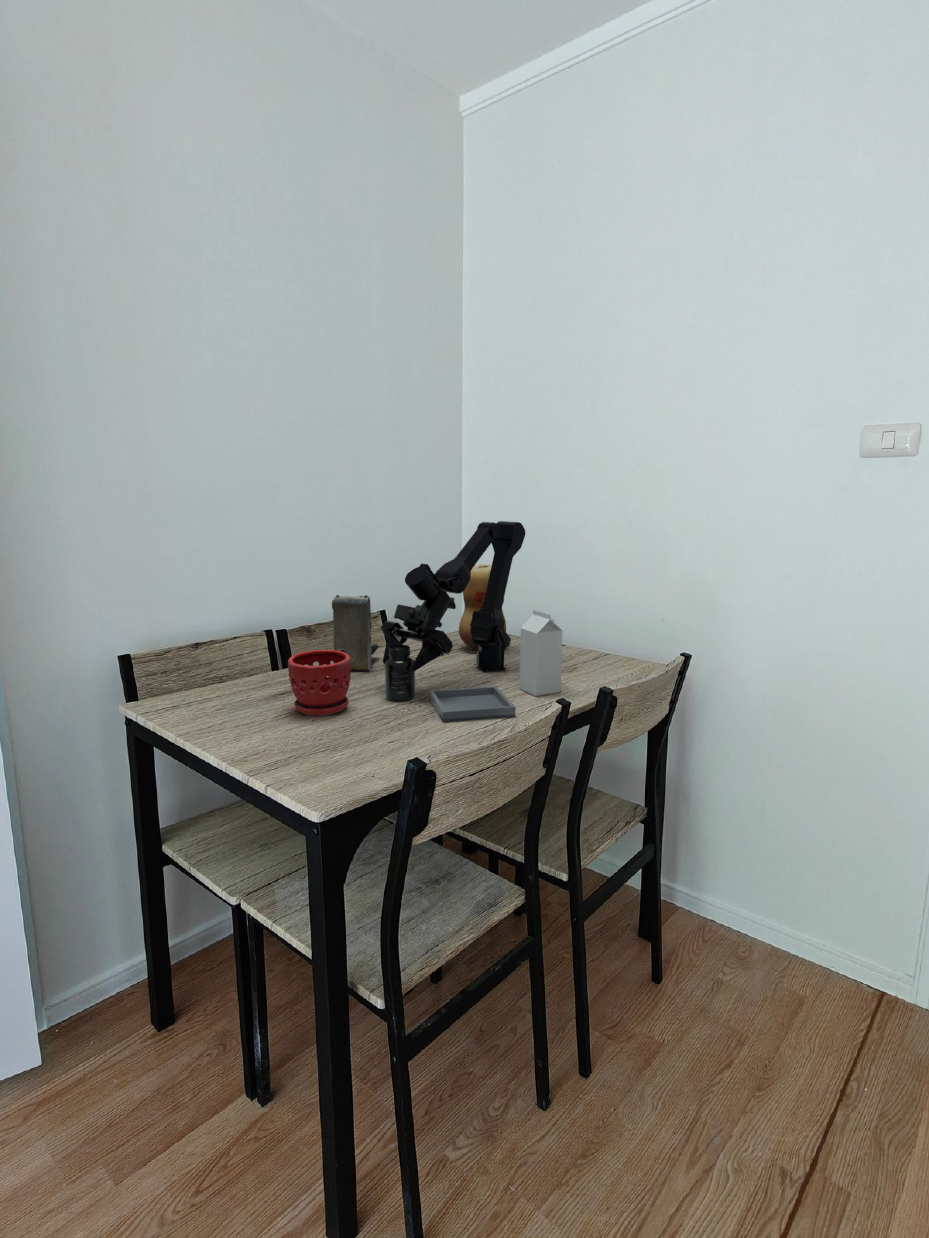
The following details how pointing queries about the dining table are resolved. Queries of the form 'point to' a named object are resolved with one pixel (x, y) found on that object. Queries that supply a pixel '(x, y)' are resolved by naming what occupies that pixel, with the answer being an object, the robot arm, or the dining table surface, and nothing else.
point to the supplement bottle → (399, 674)
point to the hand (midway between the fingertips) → (398, 666)
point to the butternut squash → (474, 600)
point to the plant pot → (320, 681)
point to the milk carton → (540, 655)
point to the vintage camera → (353, 630)
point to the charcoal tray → (471, 704)
